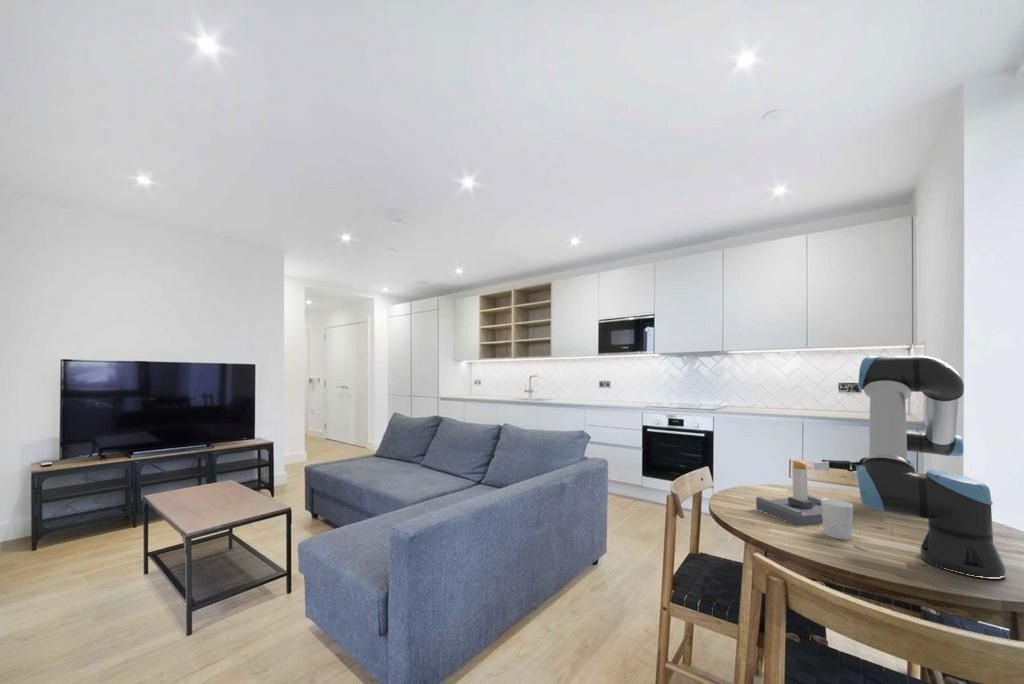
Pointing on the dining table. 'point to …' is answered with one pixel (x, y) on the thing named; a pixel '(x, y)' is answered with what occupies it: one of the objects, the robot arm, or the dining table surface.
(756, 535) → the dining table surface
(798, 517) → the base
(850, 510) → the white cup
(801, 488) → the breaker handle
